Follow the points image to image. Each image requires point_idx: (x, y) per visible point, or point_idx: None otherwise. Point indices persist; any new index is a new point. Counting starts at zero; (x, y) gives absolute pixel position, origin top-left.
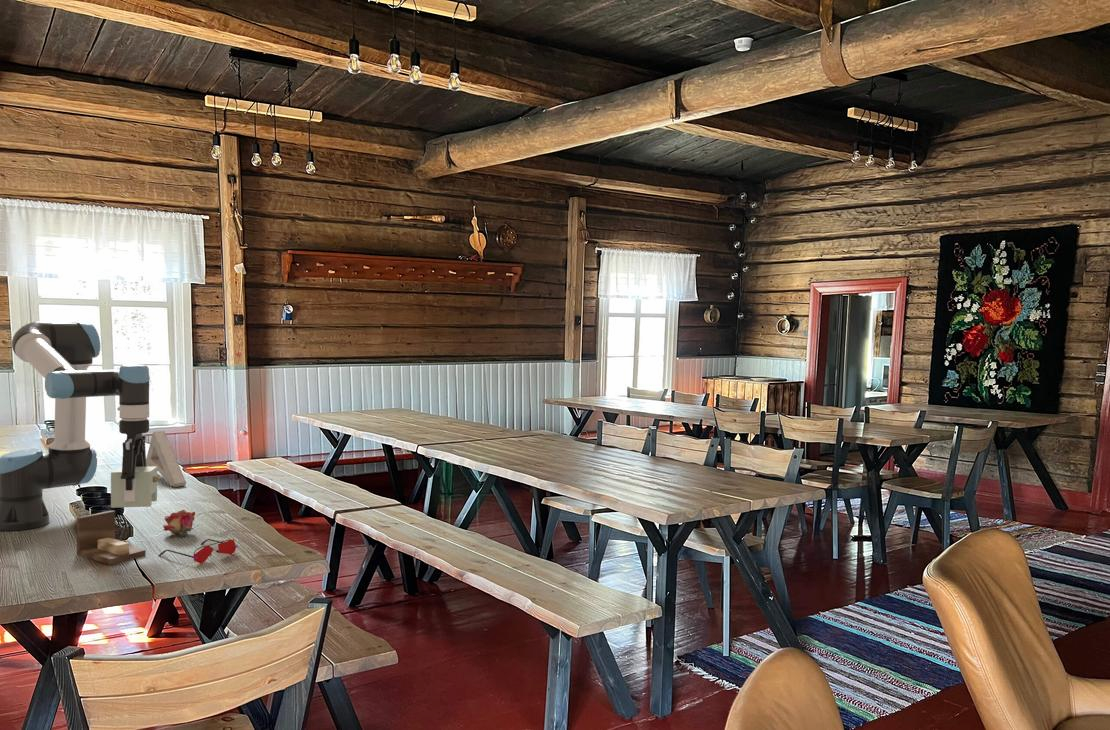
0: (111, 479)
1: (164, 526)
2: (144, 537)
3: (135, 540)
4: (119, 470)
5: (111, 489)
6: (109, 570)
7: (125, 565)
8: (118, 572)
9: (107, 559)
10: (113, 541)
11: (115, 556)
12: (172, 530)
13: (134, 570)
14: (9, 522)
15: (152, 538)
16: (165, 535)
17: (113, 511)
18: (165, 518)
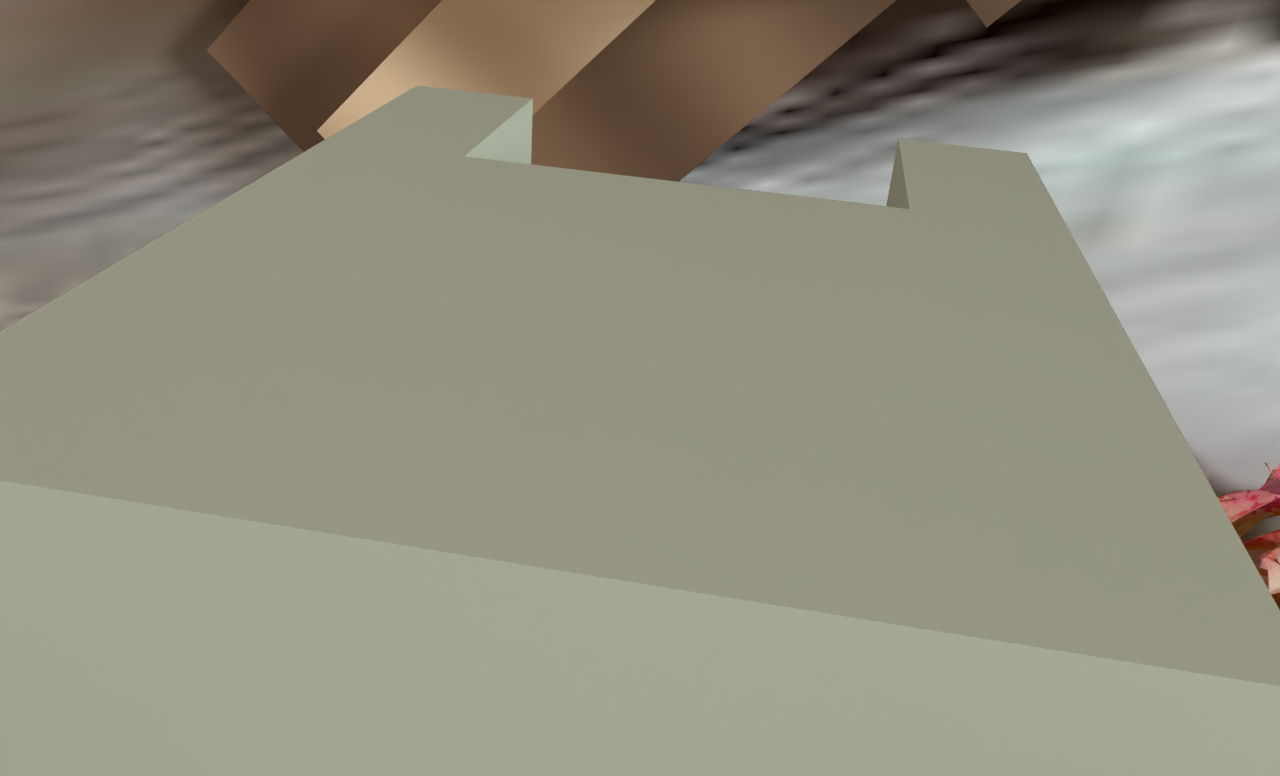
0: (43, 327)
1: (1260, 496)
2: (1275, 236)
3: (1167, 151)
4: (268, 728)
5: (227, 210)
6: (64, 66)
7: (207, 184)
8: (11, 156)
9: (244, 11)
10: (512, 36)
11: (295, 85)
12: None
13: (67, 277)
14: None
15: (1181, 325)
16: (1262, 442)
17: (972, 1)
18: (1271, 570)
